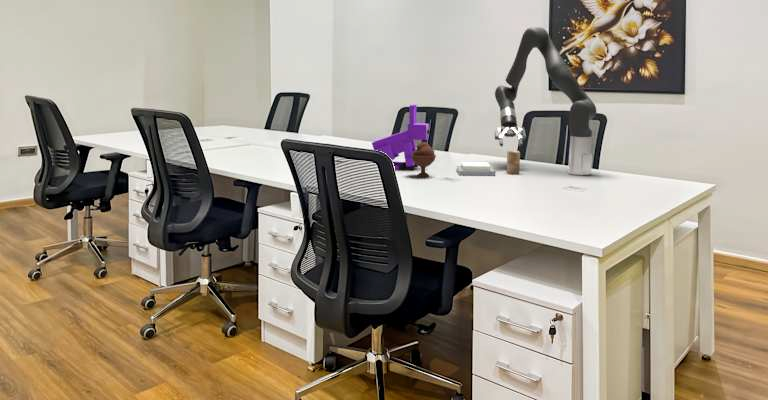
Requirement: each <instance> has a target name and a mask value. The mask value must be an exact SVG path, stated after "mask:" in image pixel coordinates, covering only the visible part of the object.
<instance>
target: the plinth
mask: <svg viewBox="0 0 768 400" xmlns="http://www.w3.org/2000/svg"><path fill="white" fill-rule="evenodd" d="M456 171H457V173H458V175H459V176H468V177H469V176H471V177H472V176H473V177H474V176H477V177H479V176H480V177H482V176H483V177H485V176H487V177H492V176H494V177H496V170H495V169H494V168H493V167H492V166H491V165H490V164H489V163H488V162H487V161H486V162H477V161H476V162H475V161H473V162H470V161H466V162H464V161H462V162H461V165H456Z"/></svg>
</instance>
